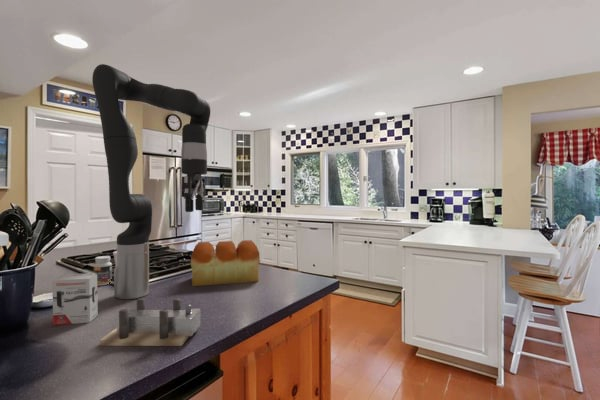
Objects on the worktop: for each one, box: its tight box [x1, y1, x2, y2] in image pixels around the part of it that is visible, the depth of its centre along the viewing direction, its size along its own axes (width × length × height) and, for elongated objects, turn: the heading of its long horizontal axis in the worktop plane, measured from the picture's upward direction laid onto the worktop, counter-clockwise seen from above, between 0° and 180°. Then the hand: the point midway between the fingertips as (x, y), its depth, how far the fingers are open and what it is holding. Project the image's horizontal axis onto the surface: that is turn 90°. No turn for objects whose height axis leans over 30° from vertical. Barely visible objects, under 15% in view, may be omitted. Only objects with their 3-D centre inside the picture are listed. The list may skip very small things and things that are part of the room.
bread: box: [190, 239, 261, 287], centre depth 118 cm, size 25×12×15 cm, turn 105°
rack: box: [99, 297, 190, 347], centre depth 71 cm, size 18×10×7 cm, turn 90°
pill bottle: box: [93, 255, 113, 287], centre depth 111 cm, size 6×6×10 cm
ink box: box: [51, 272, 99, 326], centre depth 79 cm, size 8×5×12 cm, turn 103°
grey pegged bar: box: [116, 303, 201, 337], centre depth 71 cm, size 18×6×6 cm, turn 90°
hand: (194, 211), depth 94 cm, fingers open, 8 cm apart
